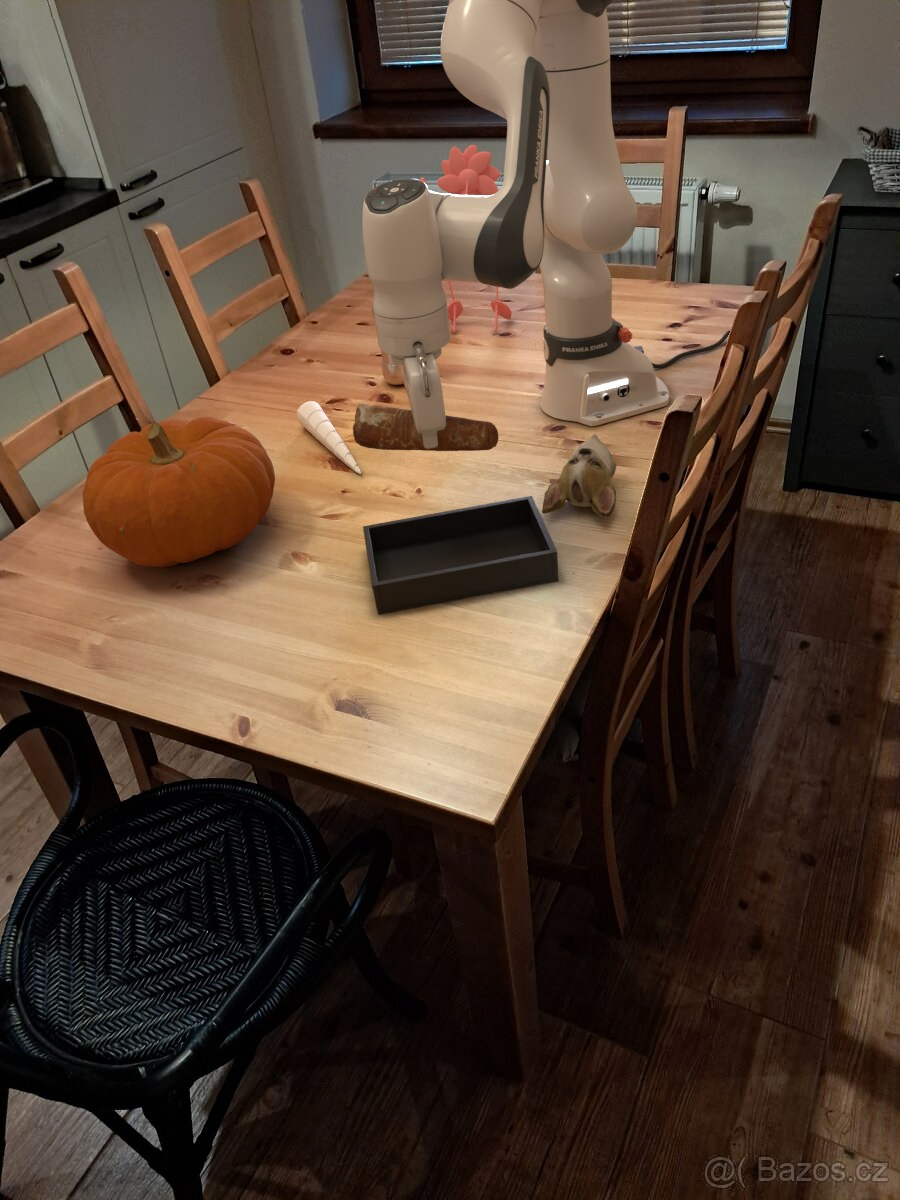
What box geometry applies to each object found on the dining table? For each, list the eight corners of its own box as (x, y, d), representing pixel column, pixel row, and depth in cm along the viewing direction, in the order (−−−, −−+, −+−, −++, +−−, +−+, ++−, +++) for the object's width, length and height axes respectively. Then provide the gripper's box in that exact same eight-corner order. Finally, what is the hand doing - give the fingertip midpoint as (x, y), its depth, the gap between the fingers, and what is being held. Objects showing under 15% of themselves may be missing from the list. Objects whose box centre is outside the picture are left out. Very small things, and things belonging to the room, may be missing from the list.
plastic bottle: (421, 374, 178) (407, 272, 166) (409, 389, 174) (394, 286, 161) (391, 373, 181) (375, 272, 168) (378, 388, 176) (361, 285, 163)
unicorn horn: (340, 483, 148) (334, 457, 146) (298, 428, 166) (293, 403, 163) (367, 475, 150) (362, 449, 147) (323, 420, 167) (317, 396, 165)
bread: (368, 434, 124) (361, 396, 121) (503, 440, 119) (500, 401, 115) (351, 457, 119) (344, 418, 116) (491, 464, 114) (488, 425, 111)
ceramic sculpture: (630, 426, 134) (609, 484, 124) (630, 475, 140) (611, 534, 130) (560, 422, 138) (534, 478, 128) (563, 470, 144) (539, 527, 134)
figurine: (535, 333, 188) (525, 150, 166) (416, 334, 195) (392, 158, 173) (547, 305, 199) (540, 130, 178) (435, 307, 206) (414, 138, 185)
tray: (533, 523, 133) (531, 495, 130) (558, 581, 122) (557, 552, 119) (368, 553, 132) (362, 526, 129) (377, 614, 120) (372, 586, 117)
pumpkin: (203, 613, 125) (158, 488, 113) (66, 570, 137) (12, 454, 125) (322, 506, 144) (295, 389, 131) (192, 477, 156) (156, 368, 143)
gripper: (451, 357, 101) (463, 466, 110) (428, 296, 118) (439, 395, 126) (395, 366, 101) (411, 474, 110) (379, 304, 117) (394, 402, 126)
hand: (426, 431), depth 118 cm, fingers closed on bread, 6 cm apart
